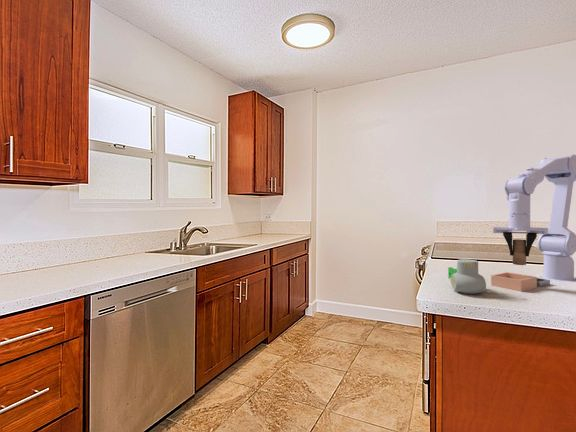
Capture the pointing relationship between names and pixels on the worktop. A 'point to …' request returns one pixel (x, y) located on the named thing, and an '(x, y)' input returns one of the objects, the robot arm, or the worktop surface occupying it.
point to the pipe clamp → (451, 271)
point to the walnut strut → (519, 252)
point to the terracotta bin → (514, 281)
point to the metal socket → (542, 282)
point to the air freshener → (468, 277)
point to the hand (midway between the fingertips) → (519, 255)
